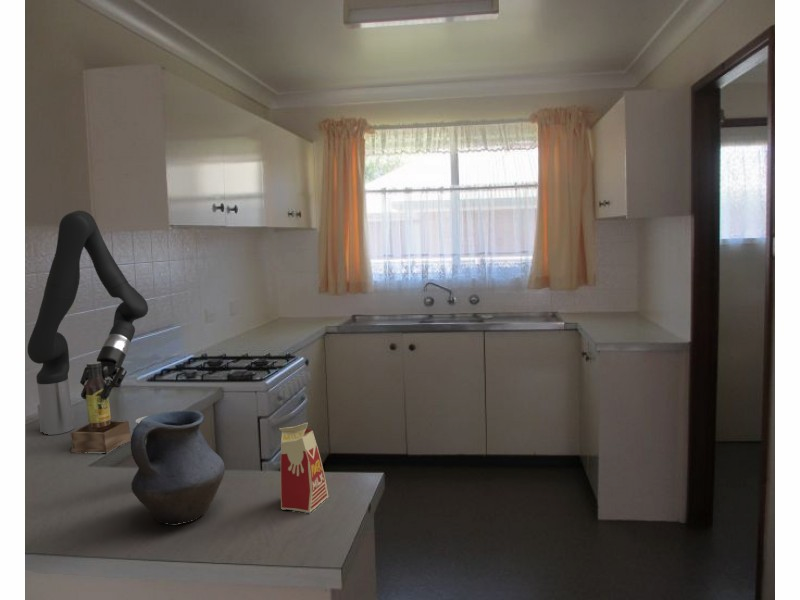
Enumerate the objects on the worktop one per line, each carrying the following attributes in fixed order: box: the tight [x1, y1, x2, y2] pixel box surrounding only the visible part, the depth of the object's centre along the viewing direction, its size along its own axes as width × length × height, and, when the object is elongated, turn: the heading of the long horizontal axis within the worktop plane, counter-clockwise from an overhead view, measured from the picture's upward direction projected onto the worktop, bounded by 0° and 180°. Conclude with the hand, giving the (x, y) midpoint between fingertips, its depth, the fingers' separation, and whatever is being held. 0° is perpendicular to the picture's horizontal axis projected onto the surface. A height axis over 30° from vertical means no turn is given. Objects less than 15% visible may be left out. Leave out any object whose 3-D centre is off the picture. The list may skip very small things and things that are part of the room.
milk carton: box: [278, 422, 330, 512], centre depth 153 cm, size 9×9×20 cm
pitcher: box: [130, 409, 226, 524], centre depth 149 cm, size 21×22×25 cm
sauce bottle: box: [85, 361, 112, 428], centre depth 200 cm, size 6×6×20 cm
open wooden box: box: [70, 420, 132, 454], centre depth 202 cm, size 12×12×6 cm
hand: (93, 398), depth 199 cm, fingers closed on sauce bottle, 6 cm apart
